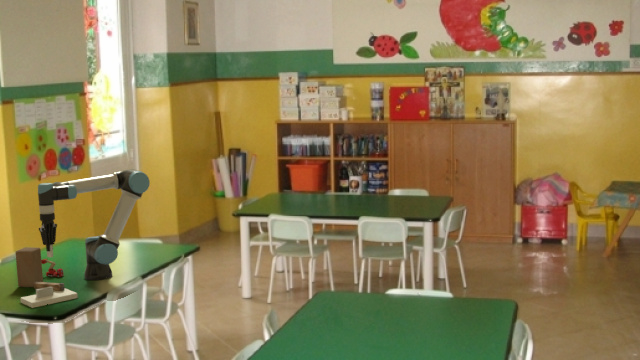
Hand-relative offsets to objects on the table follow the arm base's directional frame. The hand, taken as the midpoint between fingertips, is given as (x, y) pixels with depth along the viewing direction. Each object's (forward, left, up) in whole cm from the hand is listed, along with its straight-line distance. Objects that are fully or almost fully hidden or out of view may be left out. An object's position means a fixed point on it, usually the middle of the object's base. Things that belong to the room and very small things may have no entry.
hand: (50, 256), depth 453 cm
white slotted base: (+9, +17, -18) cm, 27 cm away
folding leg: (+4, +7, -15) cm, 17 cm away
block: (+3, -20, -18) cm, 27 cm away
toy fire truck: (-14, -30, -19) cm, 38 cm away
